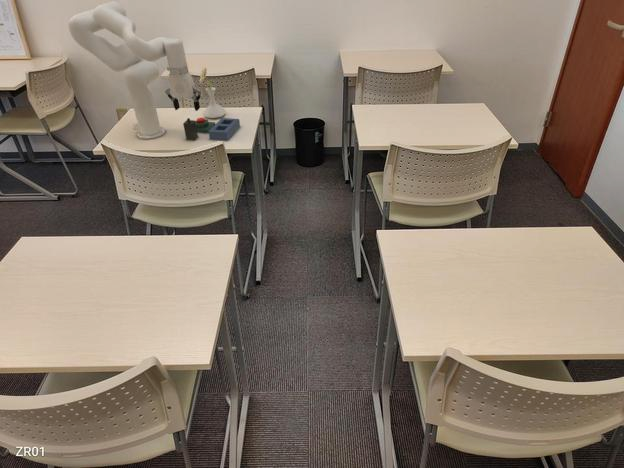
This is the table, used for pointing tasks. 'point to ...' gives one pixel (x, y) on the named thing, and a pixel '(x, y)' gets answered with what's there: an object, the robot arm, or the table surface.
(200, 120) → the power button
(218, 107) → the flower in vase
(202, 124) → the switch box
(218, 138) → the blue tray
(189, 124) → the charger
